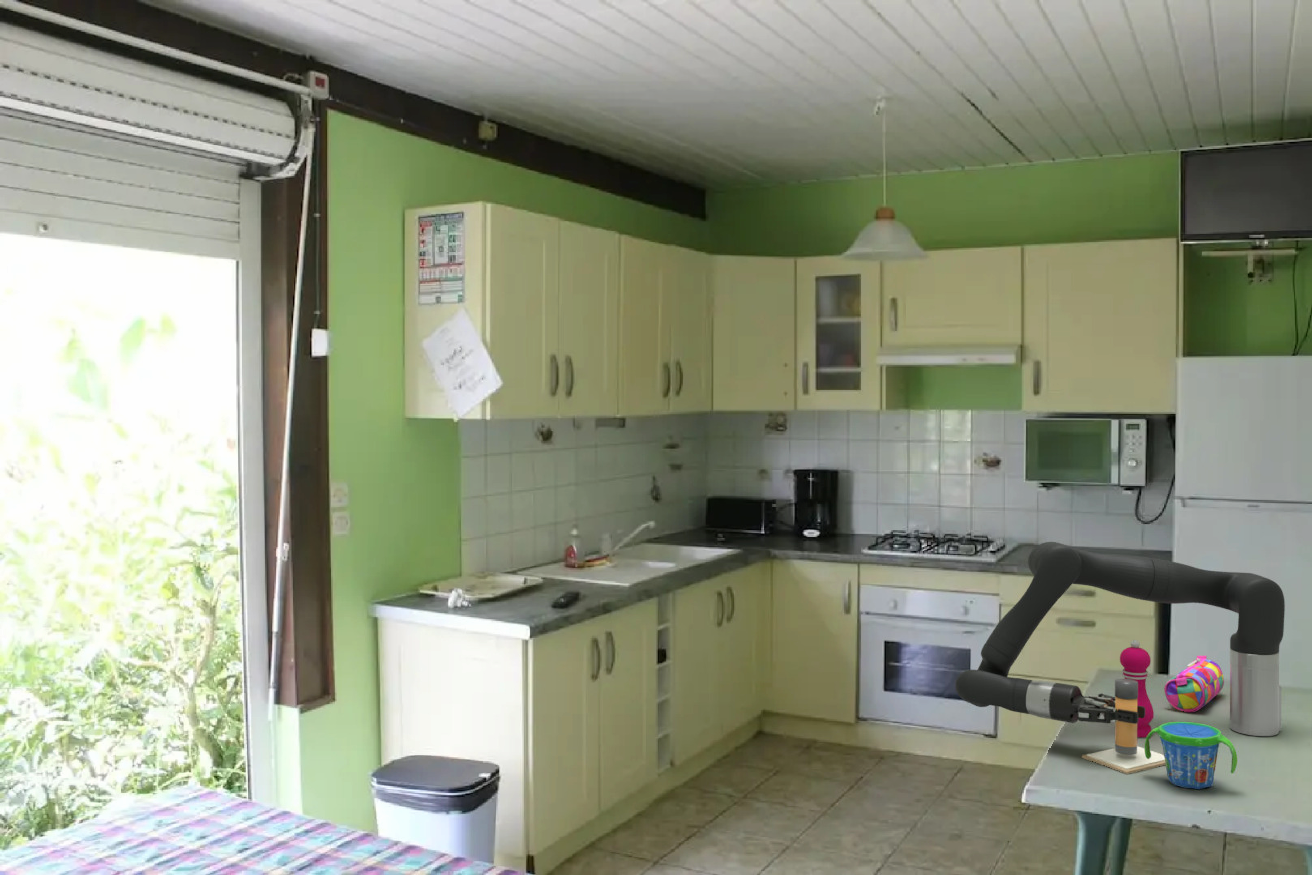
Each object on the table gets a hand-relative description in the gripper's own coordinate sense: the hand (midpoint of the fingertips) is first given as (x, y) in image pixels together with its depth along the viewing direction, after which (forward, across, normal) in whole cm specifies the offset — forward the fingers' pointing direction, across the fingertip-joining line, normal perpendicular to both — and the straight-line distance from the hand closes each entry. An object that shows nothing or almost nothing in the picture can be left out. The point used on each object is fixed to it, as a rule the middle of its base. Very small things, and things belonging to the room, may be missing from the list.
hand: (1140, 715), depth 219 cm
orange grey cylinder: (-3, 0, +8) cm, 8 cm away
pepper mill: (-6, +19, +10) cm, 22 cm away
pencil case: (-2, +51, +10) cm, 52 cm away
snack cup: (+10, -6, +10) cm, 16 cm away
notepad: (-2, +1, +10) cm, 10 cm away
